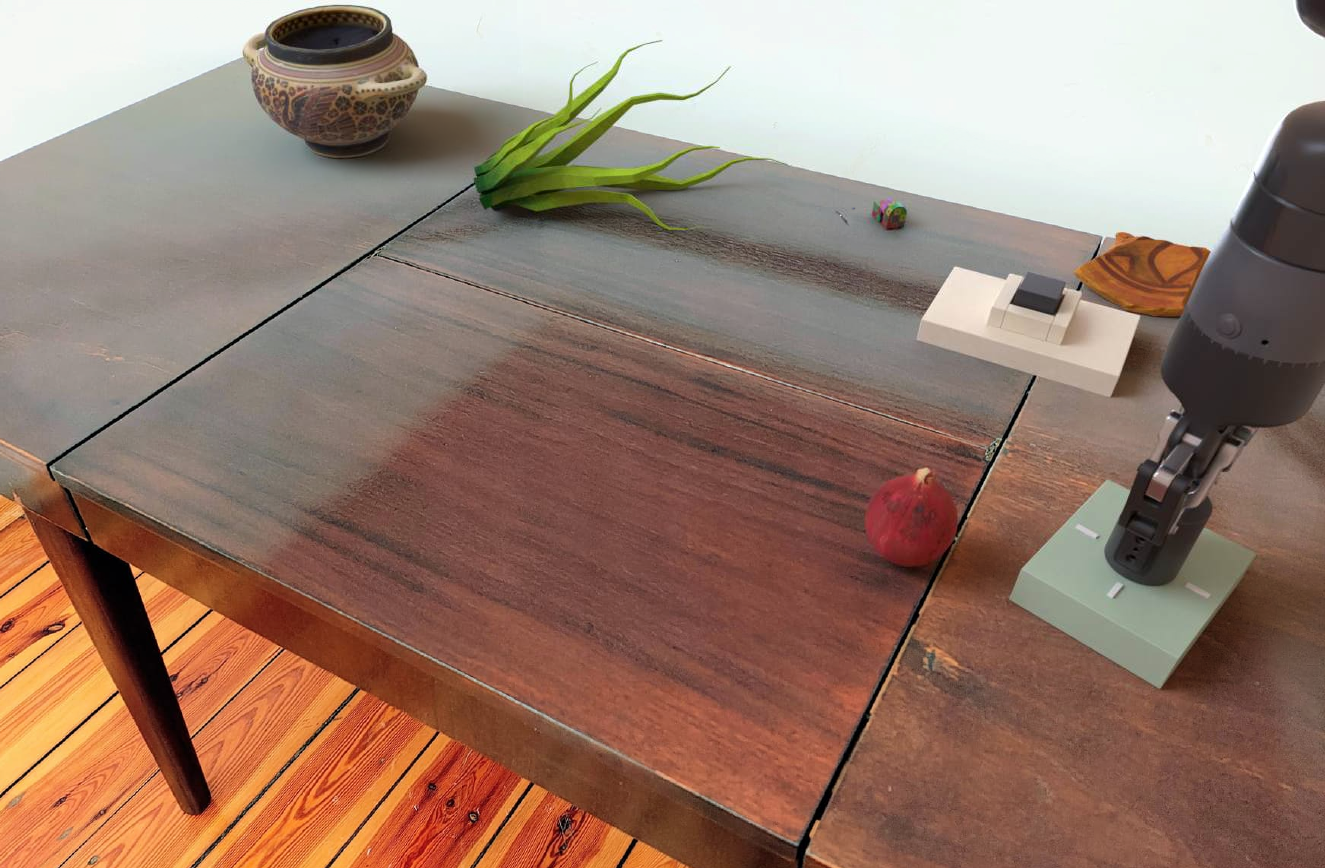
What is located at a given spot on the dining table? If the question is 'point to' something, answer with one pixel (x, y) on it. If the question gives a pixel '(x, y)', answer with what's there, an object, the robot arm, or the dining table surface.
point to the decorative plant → (537, 178)
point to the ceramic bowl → (334, 77)
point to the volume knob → (1173, 550)
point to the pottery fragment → (1145, 274)
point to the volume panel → (1127, 591)
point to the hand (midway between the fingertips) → (1149, 544)
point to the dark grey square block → (1039, 293)
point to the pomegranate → (911, 519)
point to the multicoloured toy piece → (889, 213)
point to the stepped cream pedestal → (1030, 331)
